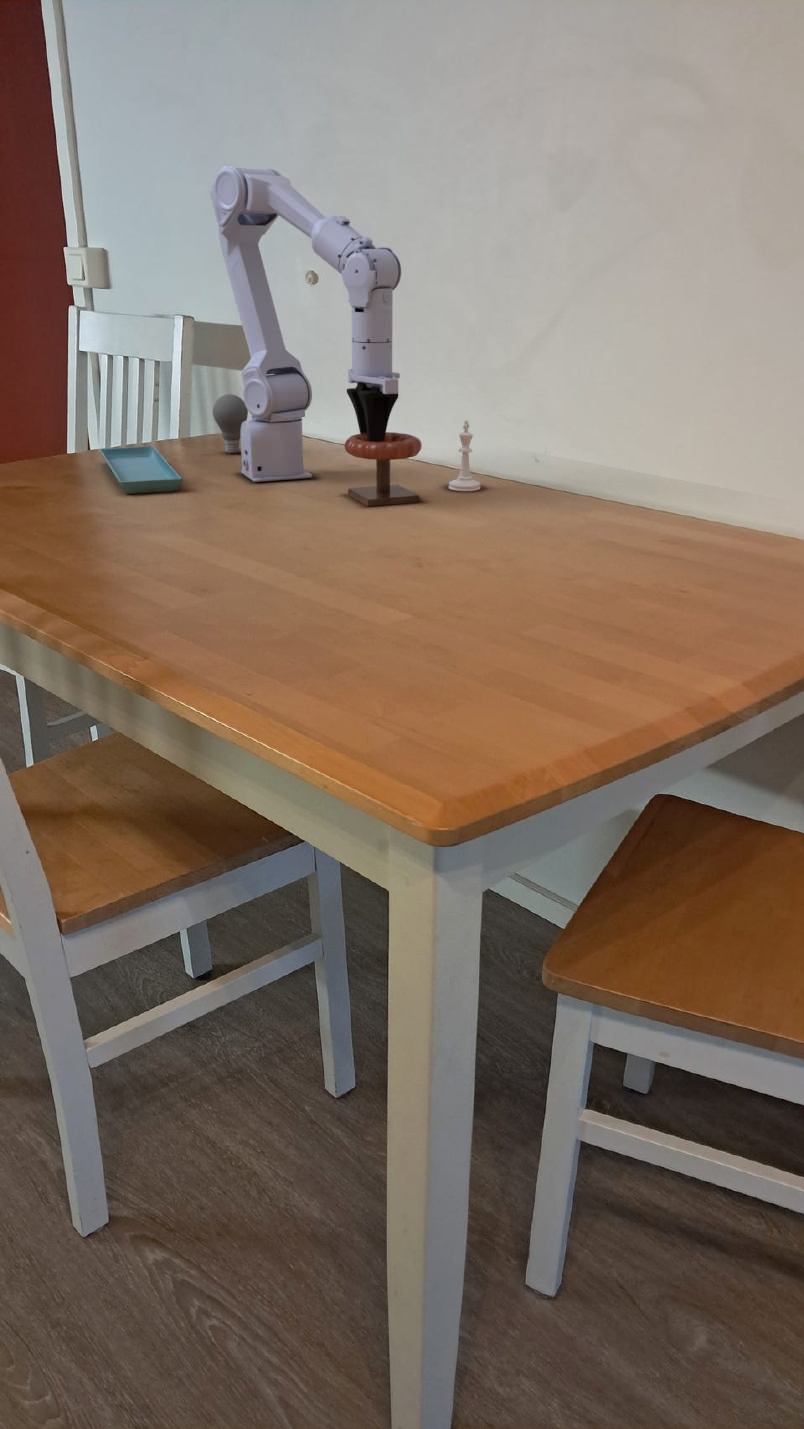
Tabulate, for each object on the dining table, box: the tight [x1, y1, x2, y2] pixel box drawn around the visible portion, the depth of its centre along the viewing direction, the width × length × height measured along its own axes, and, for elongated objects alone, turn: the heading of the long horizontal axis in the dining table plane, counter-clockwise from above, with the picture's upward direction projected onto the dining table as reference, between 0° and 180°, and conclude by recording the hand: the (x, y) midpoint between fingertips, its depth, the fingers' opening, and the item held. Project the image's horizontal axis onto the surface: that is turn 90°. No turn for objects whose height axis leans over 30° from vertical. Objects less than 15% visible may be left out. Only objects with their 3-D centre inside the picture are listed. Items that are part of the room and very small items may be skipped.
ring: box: [344, 431, 423, 461], centre depth 152 cm, size 11×11×2 cm
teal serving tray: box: [99, 445, 183, 495], centre depth 167 cm, size 26×9×2 cm, turn 21°
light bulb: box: [212, 393, 249, 455], centre depth 185 cm, size 6×6×10 cm
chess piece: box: [447, 419, 482, 492], centre depth 160 cm, size 5×5×10 cm
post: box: [347, 460, 420, 507], centre depth 154 cm, size 8×8×6 cm
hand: (372, 439), depth 156 cm, fingers closed on ring, 2 cm apart
